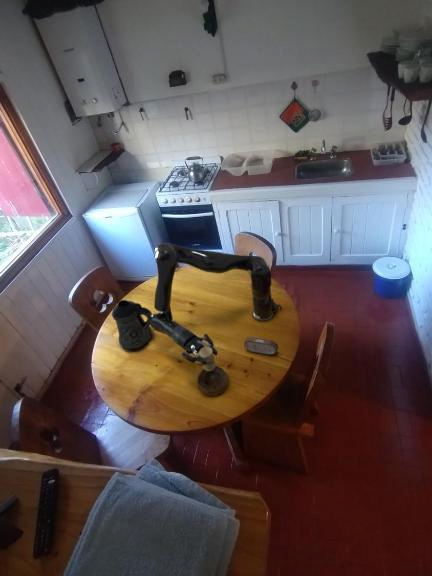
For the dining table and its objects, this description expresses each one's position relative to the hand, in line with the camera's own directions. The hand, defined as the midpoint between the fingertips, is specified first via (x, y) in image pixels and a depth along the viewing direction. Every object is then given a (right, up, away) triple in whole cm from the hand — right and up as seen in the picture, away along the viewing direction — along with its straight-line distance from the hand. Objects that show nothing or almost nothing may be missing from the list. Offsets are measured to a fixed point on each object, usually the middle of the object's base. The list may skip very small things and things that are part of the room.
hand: (211, 358), depth 135 cm
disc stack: (-1, -4, +6) cm, 7 cm away
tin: (+22, -2, +20) cm, 30 cm away
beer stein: (-36, 0, +39) cm, 53 cm away
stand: (+1, -14, +11) cm, 18 cm away
